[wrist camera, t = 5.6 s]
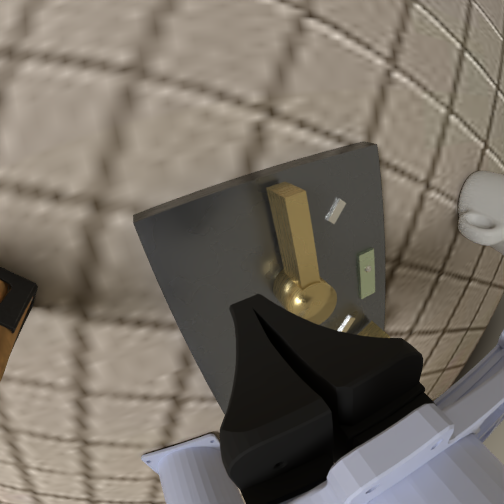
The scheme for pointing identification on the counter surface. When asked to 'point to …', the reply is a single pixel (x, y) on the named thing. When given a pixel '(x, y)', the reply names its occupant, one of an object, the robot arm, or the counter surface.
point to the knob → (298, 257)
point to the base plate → (267, 250)
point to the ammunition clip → (13, 310)
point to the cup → (483, 209)
